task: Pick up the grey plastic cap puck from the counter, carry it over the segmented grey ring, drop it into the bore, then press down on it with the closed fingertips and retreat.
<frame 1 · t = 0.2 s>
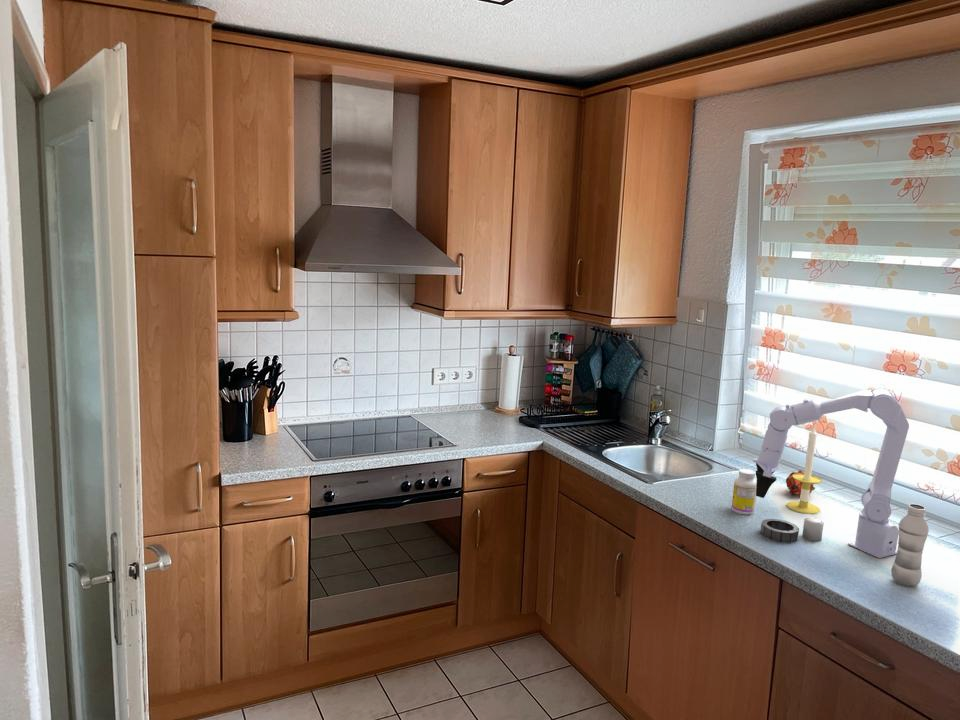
hand: (759, 492, 206), 11 cm above the worktop, tool pointing down, fingers open, 7 cm apart
plastic bottle: (904, 583, 177), on the worktop
supplement bottle: (742, 511, 220), on the worktop
candle: (803, 508, 225), on the worktop
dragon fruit: (798, 495, 237), on the worktop
segmented grey ring: (778, 535, 203), on the worktop
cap: (811, 537, 203), on the worktop
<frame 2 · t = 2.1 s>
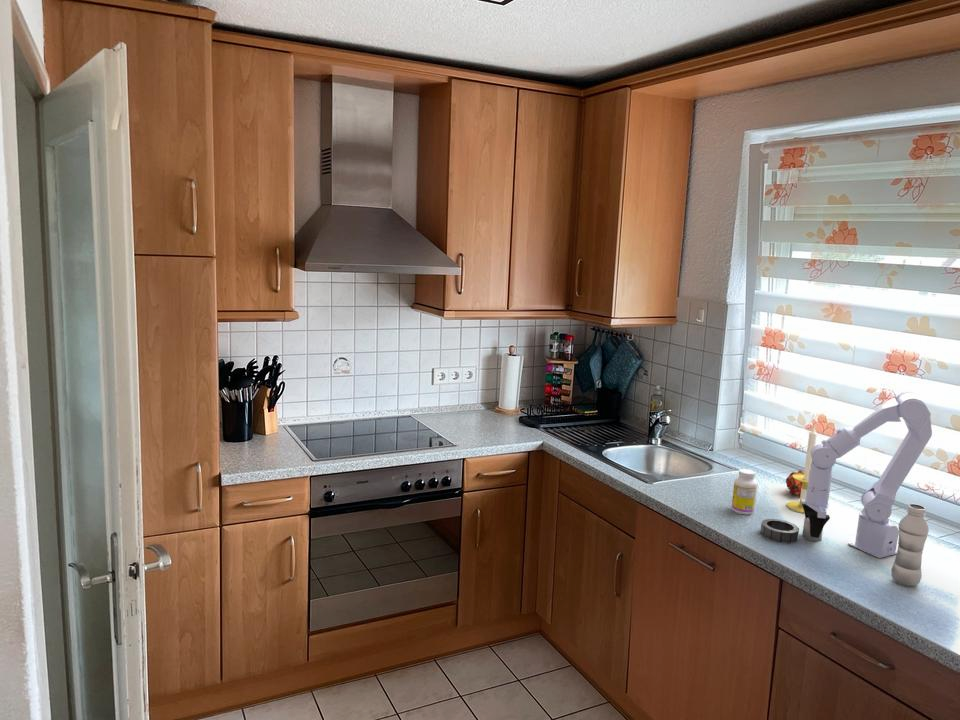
hand: (812, 532, 202), 1 cm above the worktop, tool pointing down, fingers closed on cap, 5 cm apart
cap: (811, 537, 203), on the worktop, touching gripper
everything else where it was.
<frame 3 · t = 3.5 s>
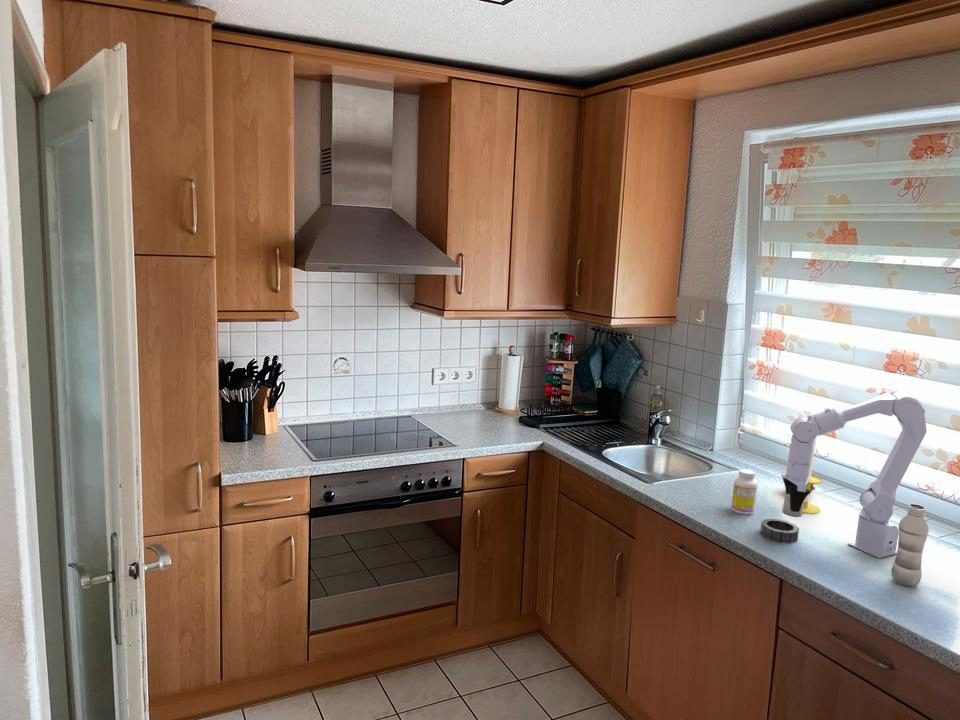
hand: (792, 507, 201), 9 cm above the worktop, tool pointing down, fingers closed on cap, 5 cm apart
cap: (792, 513, 202), point 7 cm above the worktop, touching gripper
everything else where it was.
when the fingers open (5 cm above the worktop, at t = 4.8 s): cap drops 3 cm, resting in segmented grey ring.
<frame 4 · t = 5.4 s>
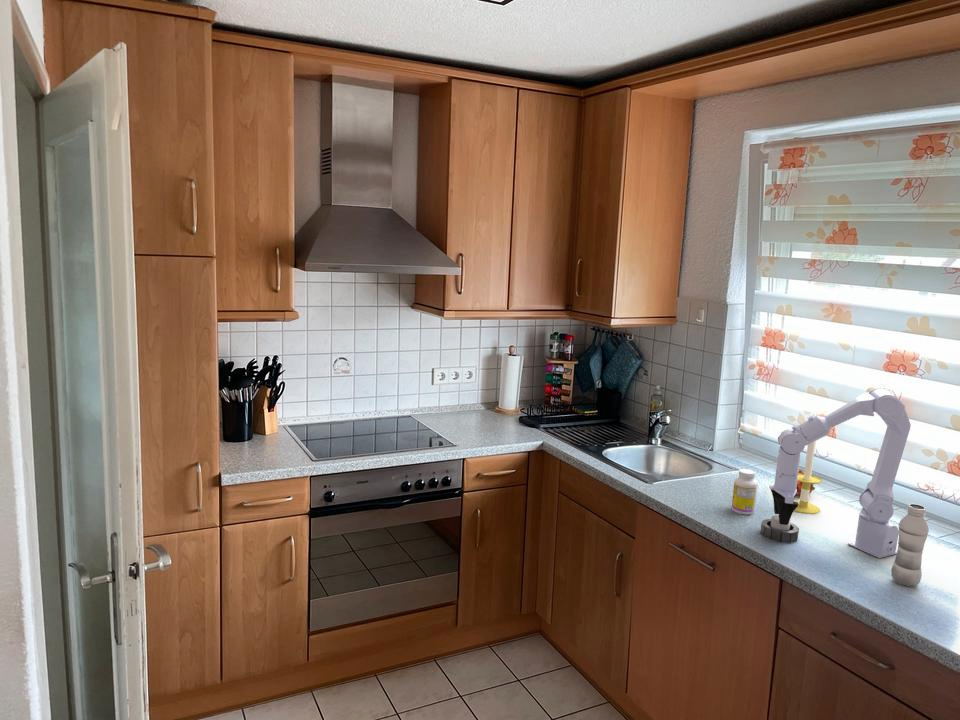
hand: (781, 518, 202), 5 cm above the worktop, tool pointing down, fingers open, 7 cm apart
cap: (778, 535, 203), resting in segmented grey ring
everything else where it was.
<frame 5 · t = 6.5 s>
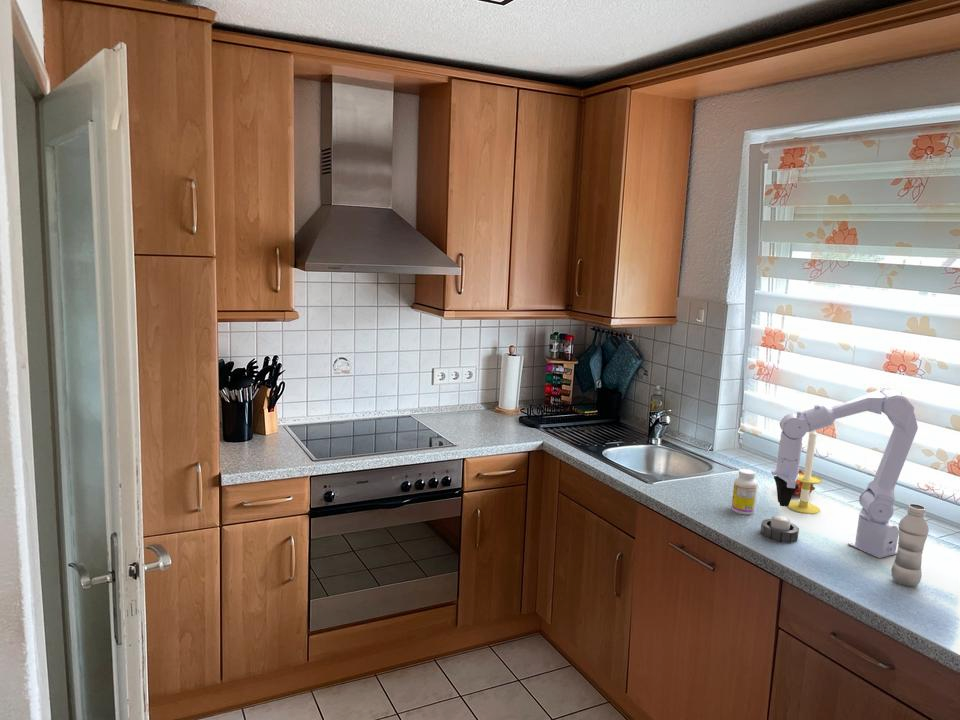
hand: (782, 504, 201), 9 cm above the worktop, tool pointing down, fingers closed
nothing on the worktop moved.
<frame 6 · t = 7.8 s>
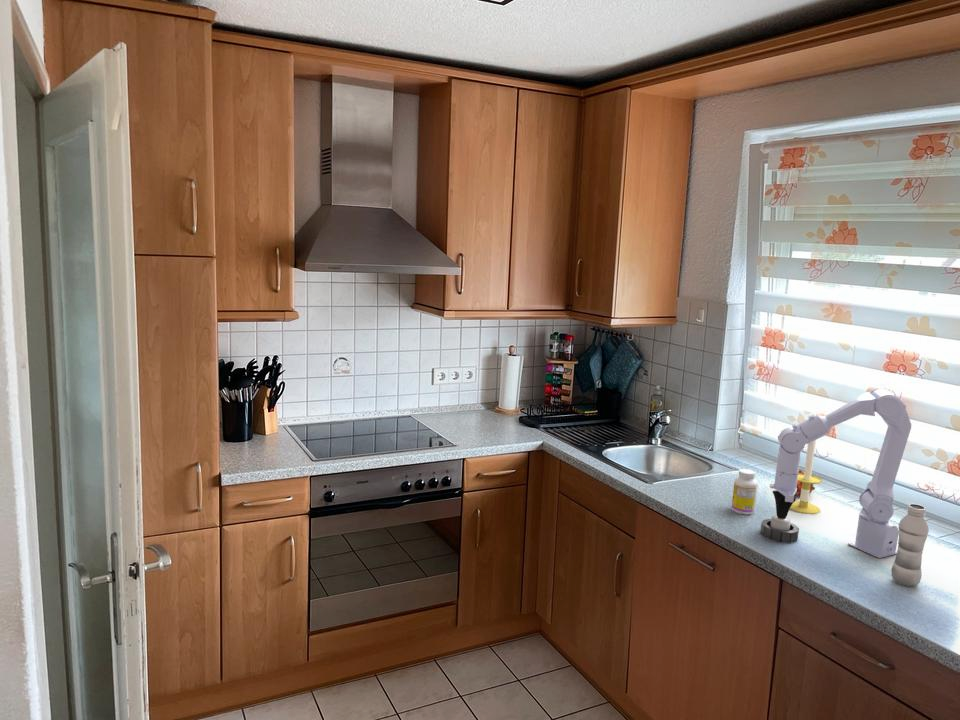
hand: (781, 517, 202), 5 cm above the worktop, tool pointing down, fingers closed
nothing on the worktop moved.
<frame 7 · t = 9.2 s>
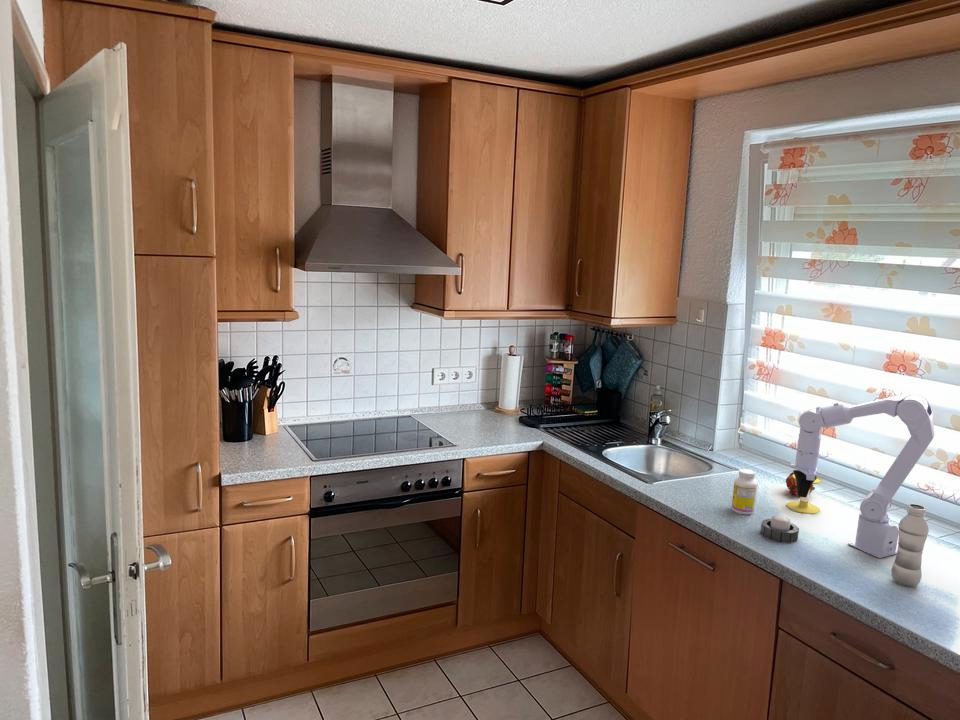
hand: (801, 496, 207), 10 cm above the worktop, tool pointing down, fingers closed
nothing on the worktop moved.
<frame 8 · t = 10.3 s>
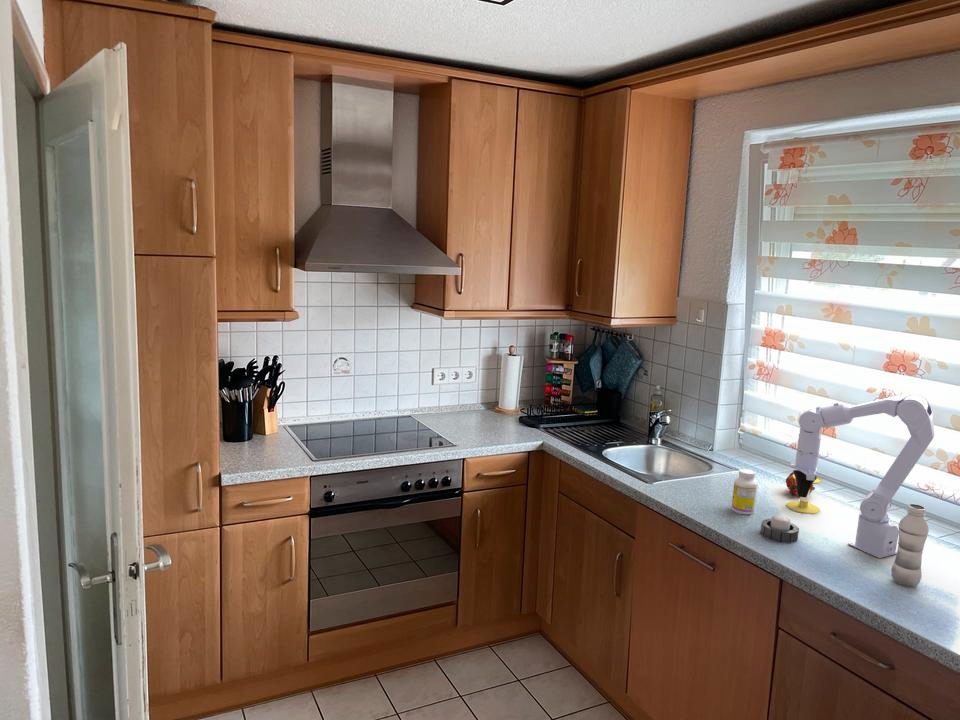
hand: (801, 496, 207), 10 cm above the worktop, tool pointing down, fingers closed
nothing on the worktop moved.
at the end: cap 0.0 cm off-centre on the segmented grey ring, point 0.0 cm above the segmented grey ring's base; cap tilted 0°; the gripper is holding nothing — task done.
